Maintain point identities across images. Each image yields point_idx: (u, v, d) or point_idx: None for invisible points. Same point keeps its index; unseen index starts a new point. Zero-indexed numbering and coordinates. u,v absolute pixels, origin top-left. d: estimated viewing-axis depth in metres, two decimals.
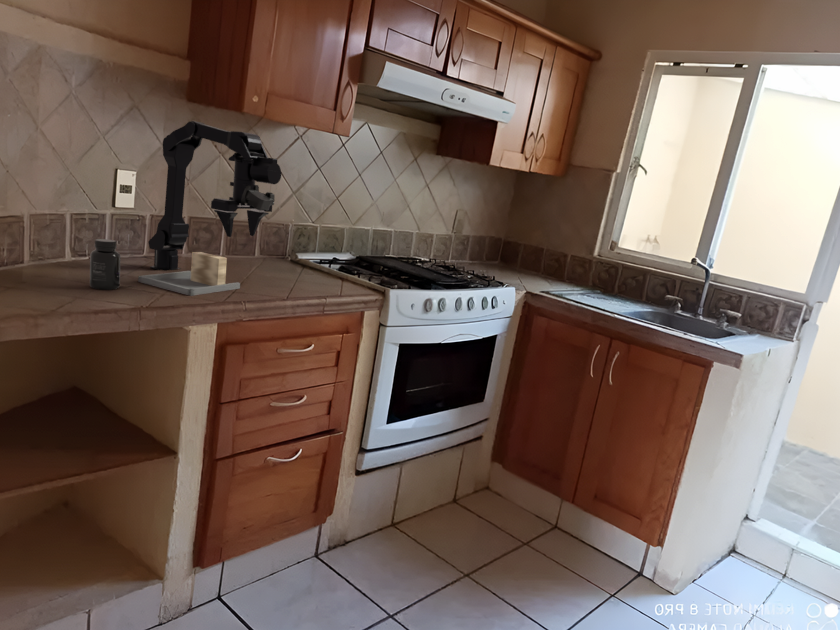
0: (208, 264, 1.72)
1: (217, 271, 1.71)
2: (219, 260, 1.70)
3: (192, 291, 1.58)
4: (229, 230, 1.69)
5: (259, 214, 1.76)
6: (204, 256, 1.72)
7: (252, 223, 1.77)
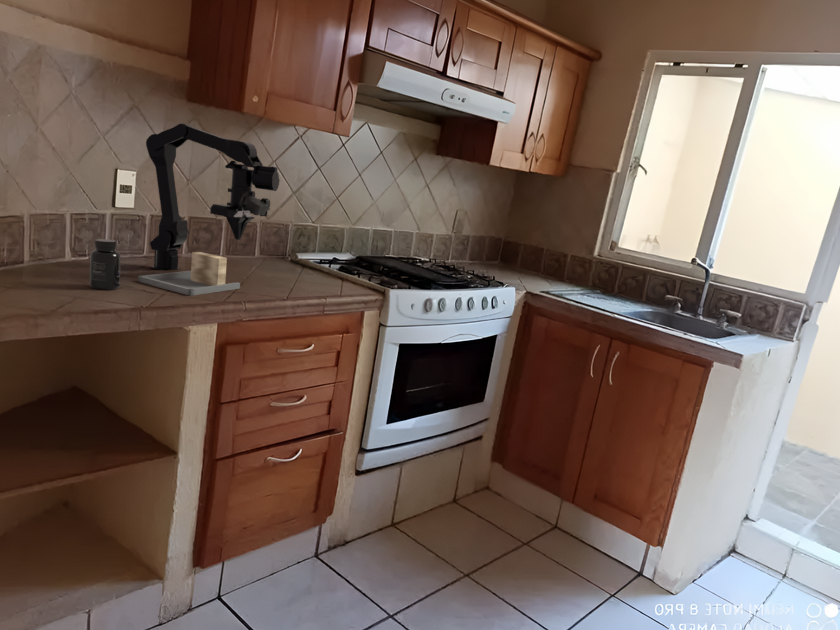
0: (208, 264, 1.72)
1: (217, 271, 1.71)
2: (219, 260, 1.70)
3: (192, 291, 1.58)
4: (238, 233, 1.82)
5: (245, 219, 1.82)
6: (204, 256, 1.72)
7: None
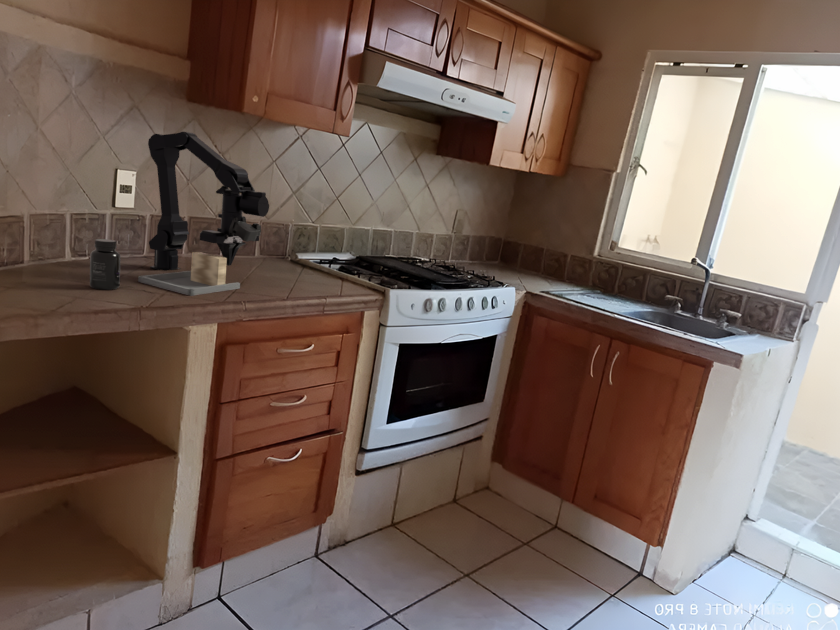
0: (208, 264, 1.72)
1: (217, 271, 1.71)
2: (219, 260, 1.70)
3: (192, 291, 1.58)
4: (228, 259, 1.80)
5: (236, 244, 1.80)
6: (204, 256, 1.72)
7: None
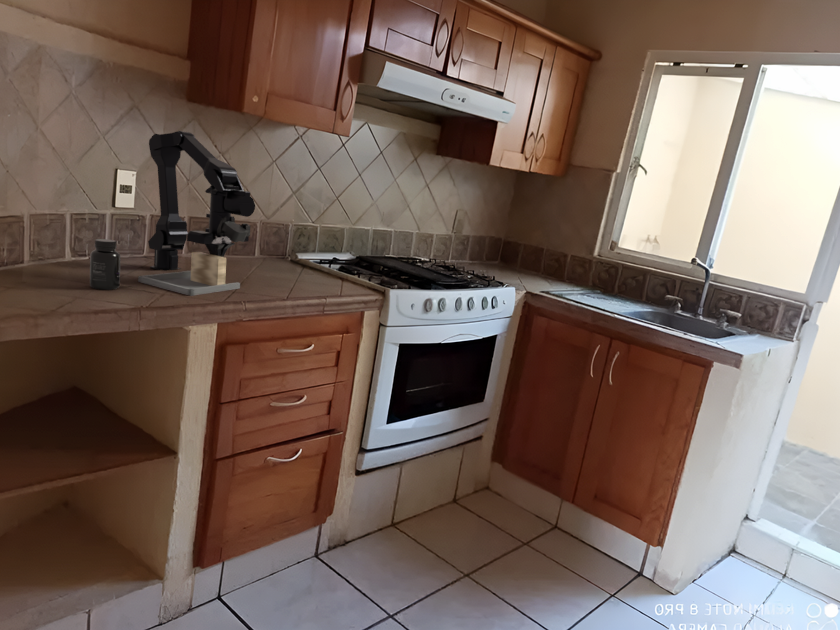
0: (208, 264, 1.72)
1: (217, 271, 1.71)
2: (219, 260, 1.70)
3: (192, 291, 1.58)
4: None
5: (225, 245, 1.76)
6: (204, 256, 1.72)
7: None
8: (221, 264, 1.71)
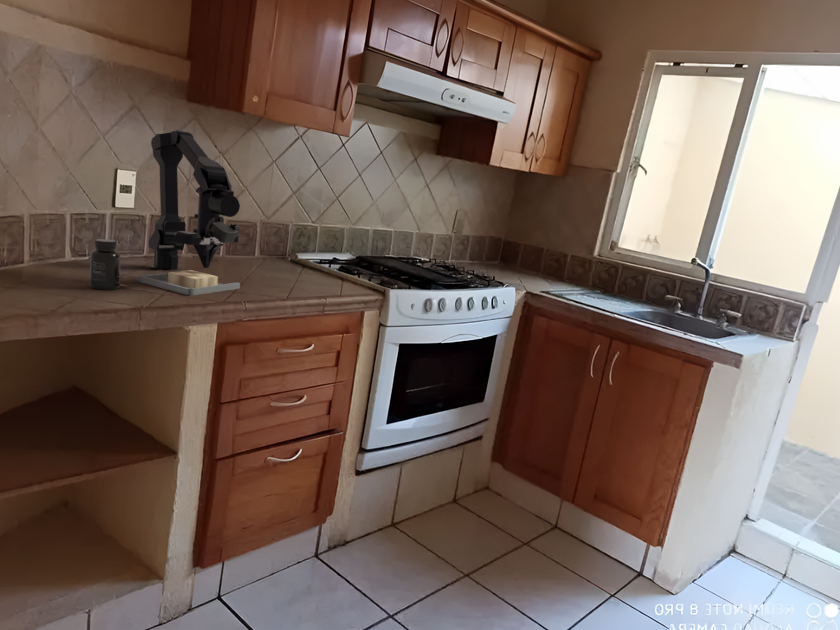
0: None
1: None
2: None
3: (192, 291, 1.58)
4: (205, 261, 1.72)
5: (213, 246, 1.72)
6: None
7: None
8: (200, 285, 1.66)
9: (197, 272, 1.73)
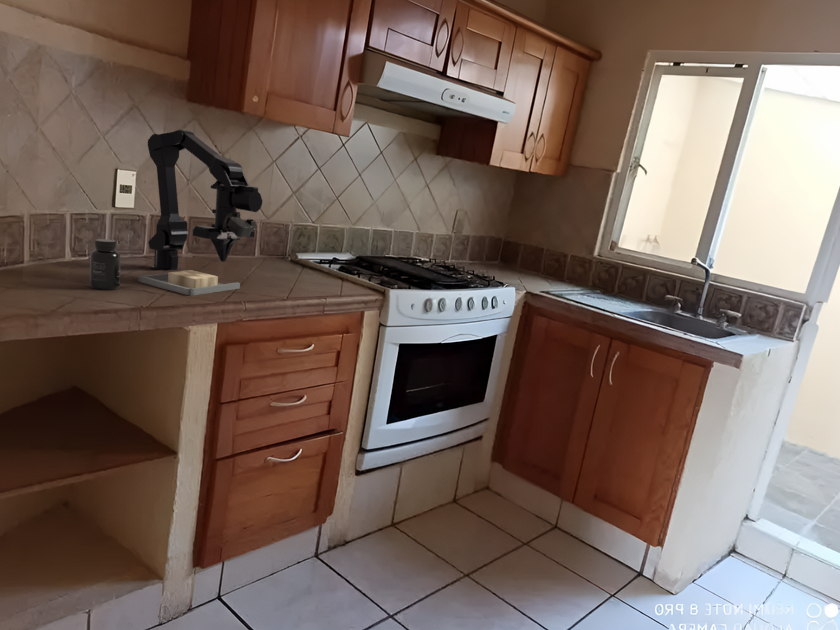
0: None
1: None
2: None
3: (192, 291, 1.58)
4: (223, 255, 1.77)
5: (230, 240, 1.77)
6: None
7: None
8: (200, 285, 1.66)
9: (197, 272, 1.73)
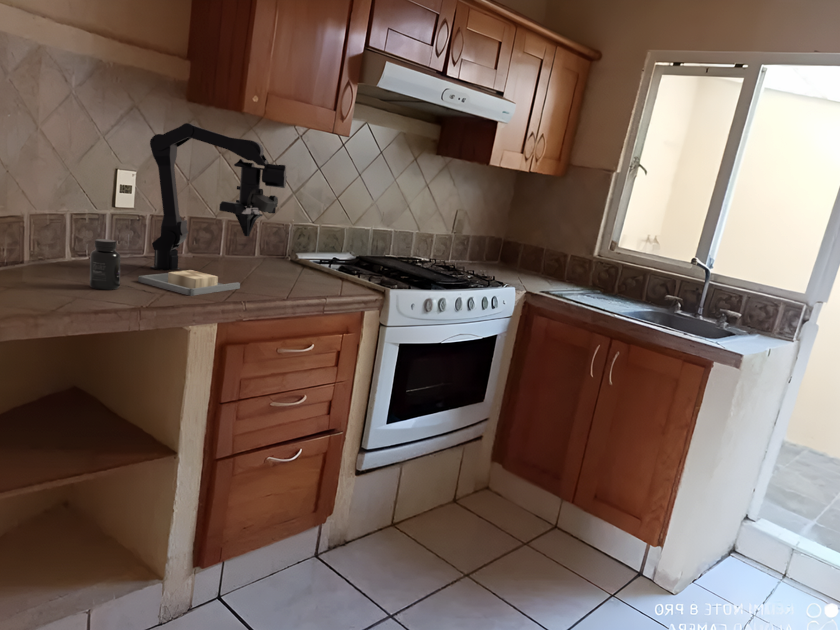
0: None
1: None
2: None
3: (192, 291, 1.58)
4: (246, 230, 1.87)
5: (254, 215, 1.87)
6: None
7: None
8: (200, 285, 1.66)
9: (197, 272, 1.73)
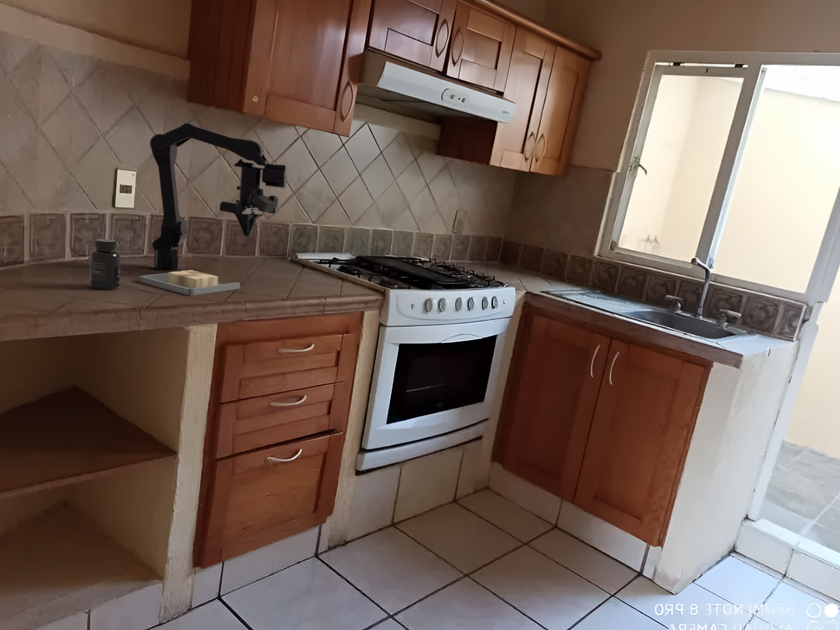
0: None
1: None
2: None
3: (192, 291, 1.58)
4: (246, 230, 1.87)
5: (254, 216, 1.87)
6: None
7: None
8: (200, 285, 1.66)
9: (197, 272, 1.73)
